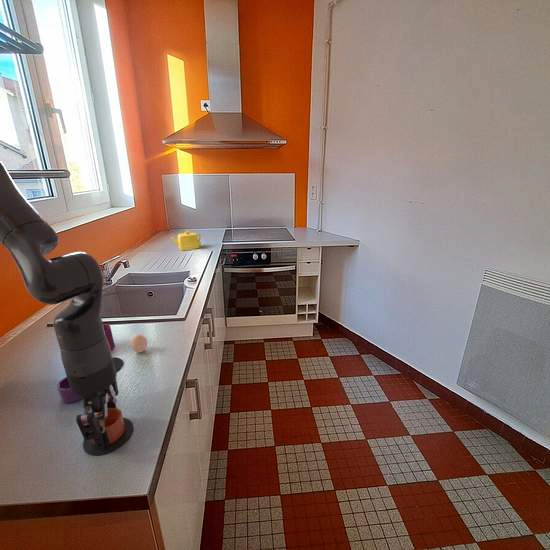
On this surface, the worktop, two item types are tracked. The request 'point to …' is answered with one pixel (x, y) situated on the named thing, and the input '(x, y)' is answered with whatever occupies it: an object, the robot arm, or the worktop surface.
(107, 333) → the mug
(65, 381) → the plum dish
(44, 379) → the worktop surface
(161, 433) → the worktop surface
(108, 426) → the clay dish
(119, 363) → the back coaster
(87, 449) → the front coaster
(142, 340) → the egg
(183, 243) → the teapot
